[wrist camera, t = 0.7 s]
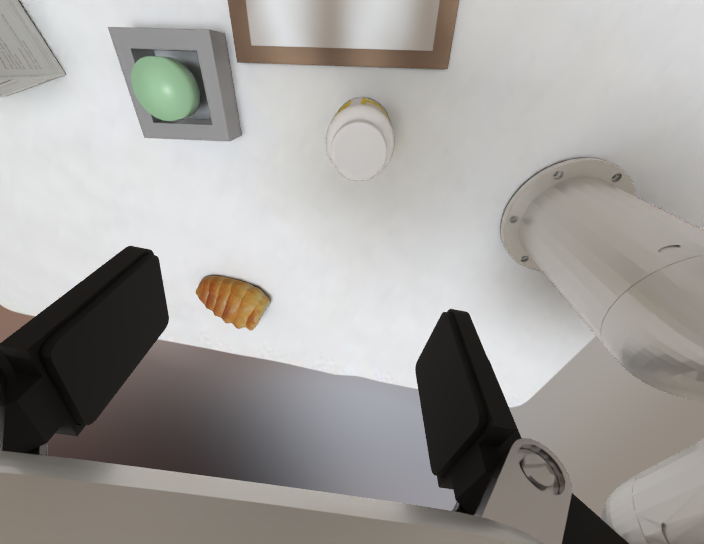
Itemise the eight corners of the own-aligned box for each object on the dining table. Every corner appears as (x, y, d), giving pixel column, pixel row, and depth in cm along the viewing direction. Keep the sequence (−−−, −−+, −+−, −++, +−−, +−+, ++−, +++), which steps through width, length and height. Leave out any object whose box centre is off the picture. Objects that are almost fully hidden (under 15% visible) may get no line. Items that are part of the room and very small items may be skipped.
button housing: (224, 33, 26) (208, 29, 23) (241, 135, 30) (229, 141, 28) (133, 30, 26) (107, 27, 24) (162, 132, 31) (144, 137, 28)
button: (192, 57, 24) (179, 57, 23) (205, 118, 27) (194, 122, 25) (138, 56, 25) (121, 55, 23) (156, 116, 27) (142, 120, 25)
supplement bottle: (338, 160, 31) (325, 193, 23) (330, 100, 28) (312, 113, 20) (391, 155, 31) (397, 187, 22) (389, 93, 28) (395, 104, 19)
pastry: (197, 296, 43) (183, 314, 40) (209, 261, 40) (194, 278, 36) (260, 322, 45) (251, 341, 42) (276, 291, 42) (268, 309, 38)
